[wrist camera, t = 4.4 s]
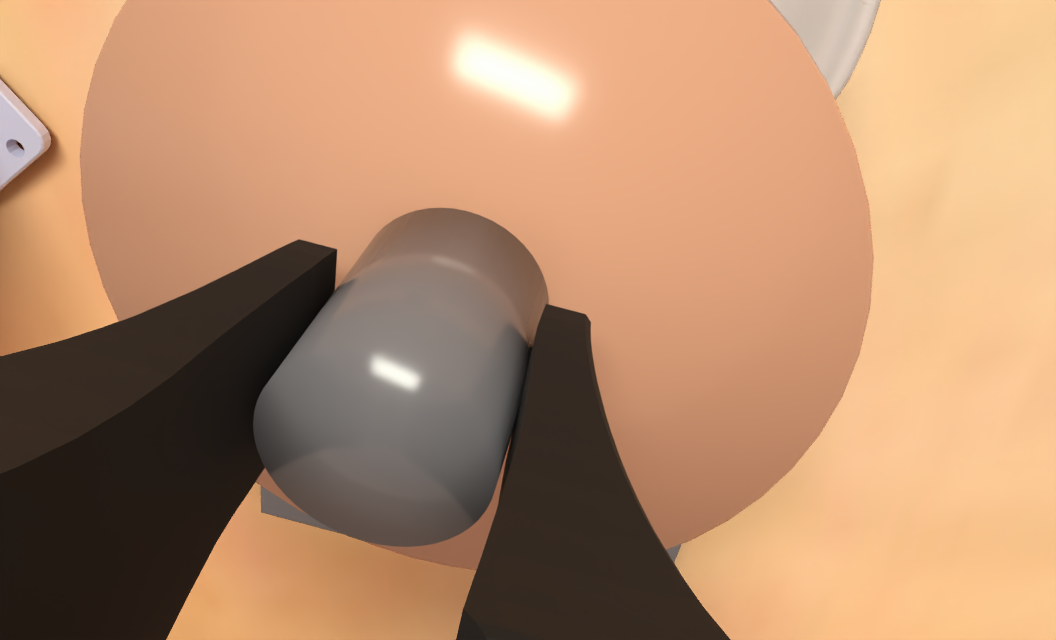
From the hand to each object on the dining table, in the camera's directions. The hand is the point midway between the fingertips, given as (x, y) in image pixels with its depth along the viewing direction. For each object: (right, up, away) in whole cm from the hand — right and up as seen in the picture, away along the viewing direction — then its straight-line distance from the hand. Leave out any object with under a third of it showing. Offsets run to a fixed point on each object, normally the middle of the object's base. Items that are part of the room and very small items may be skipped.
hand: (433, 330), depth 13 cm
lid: (0, +1, +2) cm, 2 cm away
